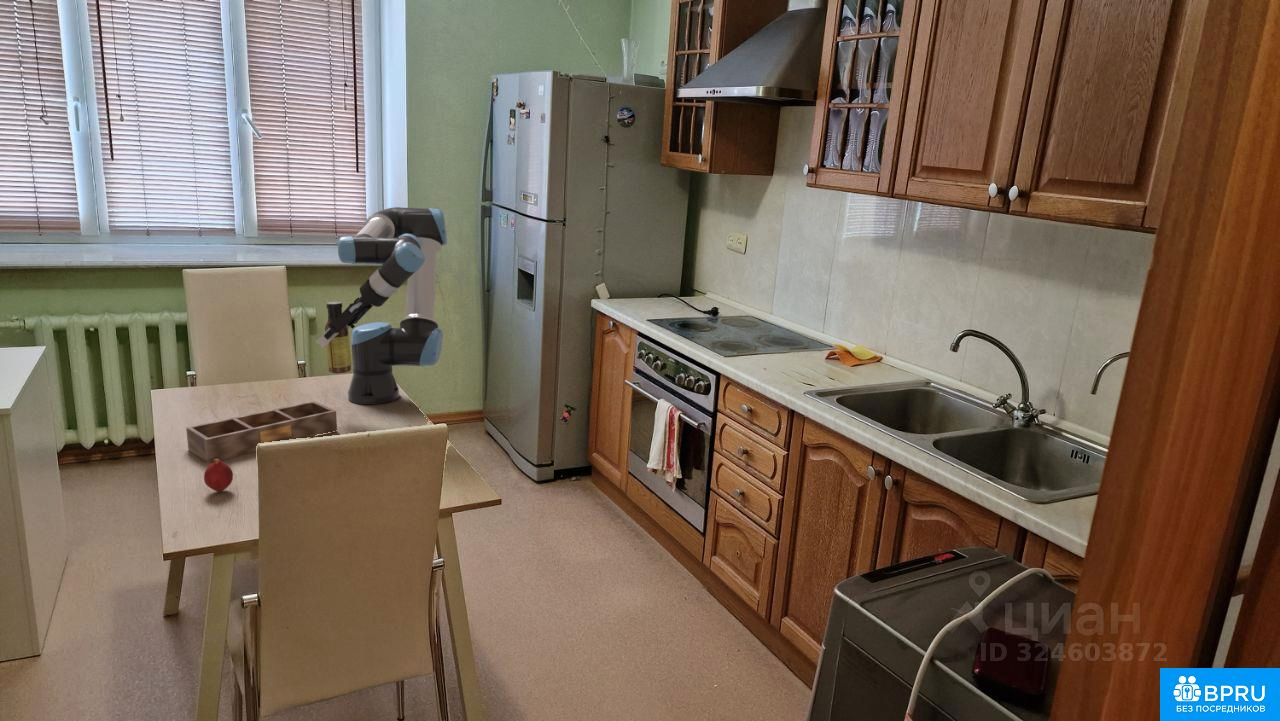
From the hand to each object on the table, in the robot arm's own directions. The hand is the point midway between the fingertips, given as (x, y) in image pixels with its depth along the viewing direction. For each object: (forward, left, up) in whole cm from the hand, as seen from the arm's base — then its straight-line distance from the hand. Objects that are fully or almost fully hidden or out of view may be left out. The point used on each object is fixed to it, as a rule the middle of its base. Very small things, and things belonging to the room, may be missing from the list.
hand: (325, 341), depth 233 cm
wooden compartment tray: (+22, +7, -22) cm, 32 cm away
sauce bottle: (-2, +3, -9) cm, 9 cm away
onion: (+44, +32, -23) cm, 59 cm away
